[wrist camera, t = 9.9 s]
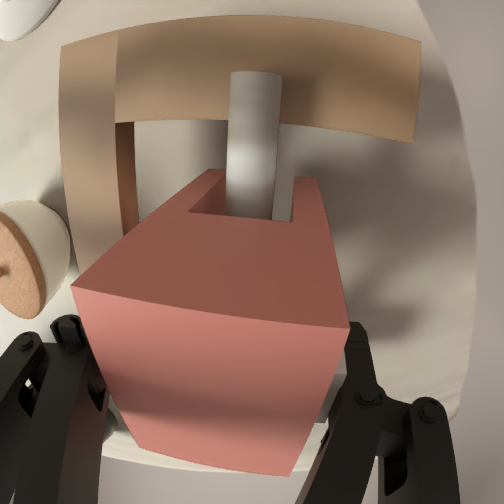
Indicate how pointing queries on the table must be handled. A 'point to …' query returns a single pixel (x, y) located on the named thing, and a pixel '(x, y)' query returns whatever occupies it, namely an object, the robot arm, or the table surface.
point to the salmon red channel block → (219, 327)
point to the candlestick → (22, 17)
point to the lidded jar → (31, 256)
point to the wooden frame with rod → (219, 104)
